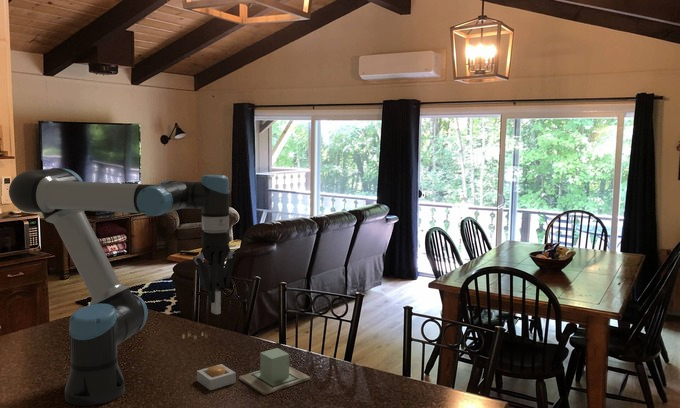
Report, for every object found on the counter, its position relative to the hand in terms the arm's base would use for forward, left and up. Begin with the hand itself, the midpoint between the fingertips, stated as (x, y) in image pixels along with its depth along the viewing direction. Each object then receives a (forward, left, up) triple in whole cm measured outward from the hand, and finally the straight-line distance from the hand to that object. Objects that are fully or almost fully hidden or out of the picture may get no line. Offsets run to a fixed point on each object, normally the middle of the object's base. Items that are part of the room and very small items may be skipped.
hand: (215, 312), depth 162 cm
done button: (0, 0, -20) cm, 20 cm away
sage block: (+14, -9, -20) cm, 26 cm away
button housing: (0, 0, -20) cm, 20 cm away
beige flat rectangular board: (+14, -9, -20) cm, 26 cm away
